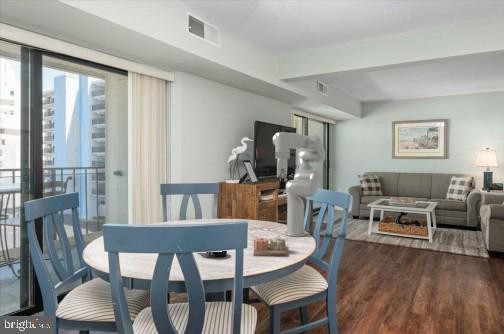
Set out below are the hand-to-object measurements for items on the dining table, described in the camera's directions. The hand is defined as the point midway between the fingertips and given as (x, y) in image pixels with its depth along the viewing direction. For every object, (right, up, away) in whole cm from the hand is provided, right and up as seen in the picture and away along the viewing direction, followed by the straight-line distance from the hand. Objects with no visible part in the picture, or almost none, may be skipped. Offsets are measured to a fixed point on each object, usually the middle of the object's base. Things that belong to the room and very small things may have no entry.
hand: (282, 188), depth 180 cm
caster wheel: (-33, -29, -25) cm, 51 cm away
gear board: (-7, -29, -17) cm, 34 cm away
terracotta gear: (-12, -28, -16) cm, 34 cm away
